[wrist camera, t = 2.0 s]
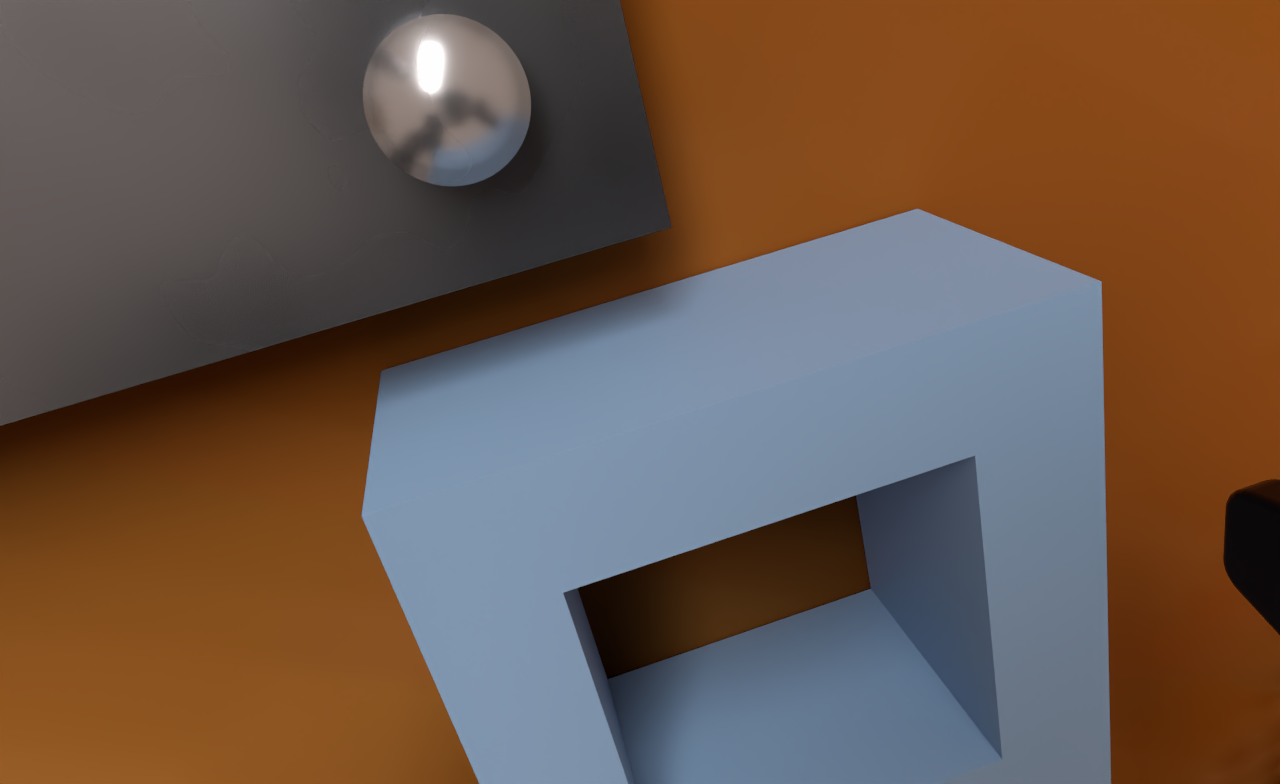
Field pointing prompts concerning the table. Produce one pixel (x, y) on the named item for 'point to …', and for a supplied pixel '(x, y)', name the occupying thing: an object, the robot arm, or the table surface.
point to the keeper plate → (292, 170)
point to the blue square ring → (771, 518)
